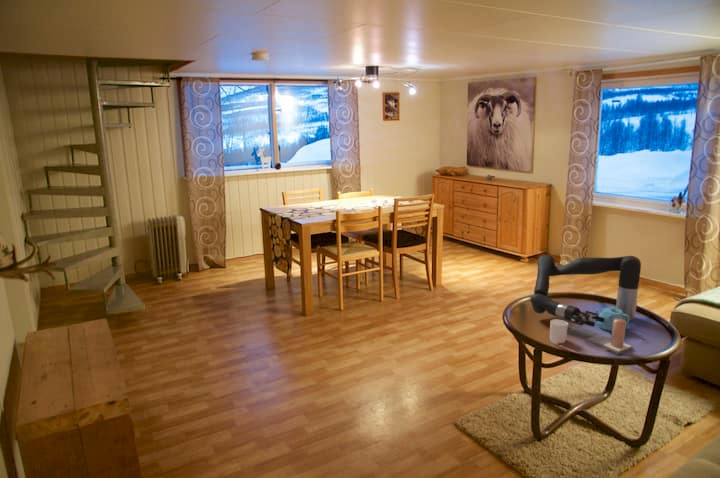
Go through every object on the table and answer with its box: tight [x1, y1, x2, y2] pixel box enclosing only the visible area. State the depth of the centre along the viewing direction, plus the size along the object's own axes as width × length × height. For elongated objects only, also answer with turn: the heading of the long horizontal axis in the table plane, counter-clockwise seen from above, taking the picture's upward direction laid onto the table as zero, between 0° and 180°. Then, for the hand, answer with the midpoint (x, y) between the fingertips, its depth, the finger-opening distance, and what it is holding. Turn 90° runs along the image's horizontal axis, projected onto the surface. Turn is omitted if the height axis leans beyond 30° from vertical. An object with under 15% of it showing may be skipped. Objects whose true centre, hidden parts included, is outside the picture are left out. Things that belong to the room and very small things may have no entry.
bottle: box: [610, 319, 627, 348], centre depth 229 cm, size 5×5×12 cm
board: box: [567, 325, 634, 356], centre depth 239 cm, size 12×28×2 cm, turn 31°
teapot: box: [594, 306, 631, 332], centre depth 251 cm, size 20×17×12 cm
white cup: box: [549, 318, 569, 345], centre depth 237 cm, size 8×8×10 cm
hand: (599, 322), depth 236 cm, fingers open, 8 cm apart
